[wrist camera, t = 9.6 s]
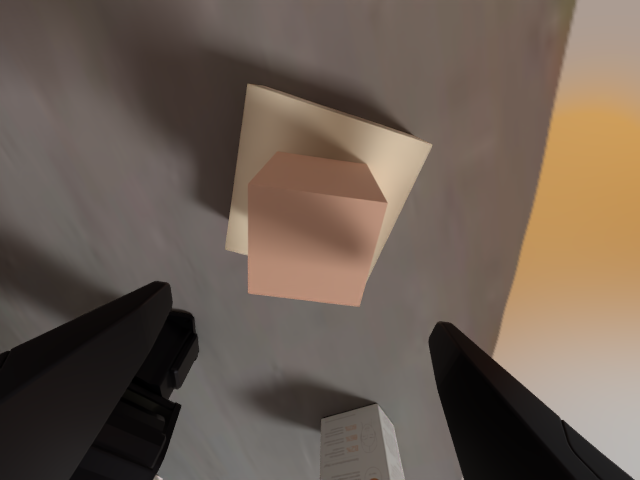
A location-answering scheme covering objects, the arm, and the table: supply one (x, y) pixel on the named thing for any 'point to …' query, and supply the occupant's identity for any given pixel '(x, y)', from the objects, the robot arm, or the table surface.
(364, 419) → the small box
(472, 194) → the table surface
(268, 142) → the birch base block
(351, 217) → the terracotta block
